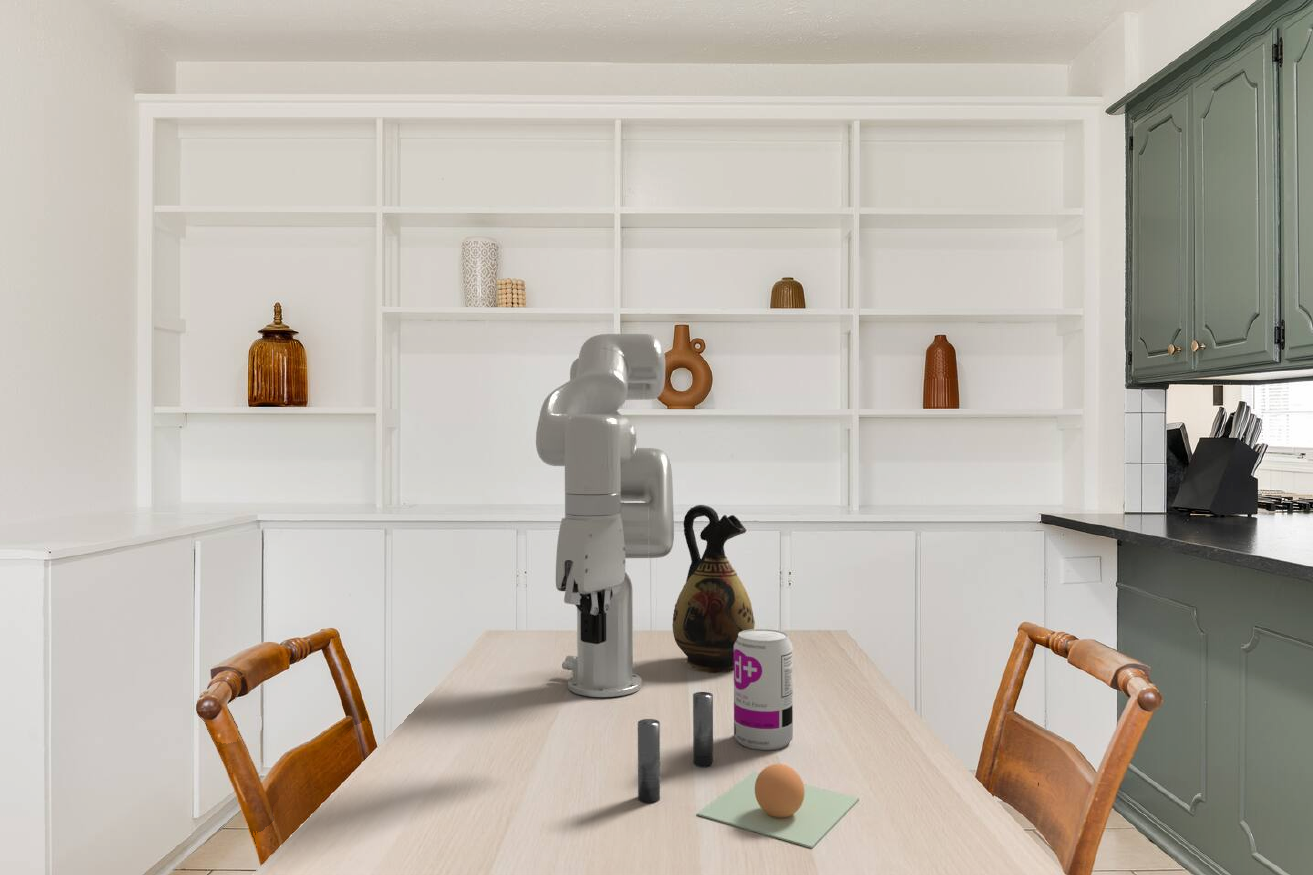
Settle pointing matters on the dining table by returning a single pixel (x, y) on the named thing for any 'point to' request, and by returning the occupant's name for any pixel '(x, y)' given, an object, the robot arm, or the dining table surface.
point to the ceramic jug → (711, 597)
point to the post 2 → (703, 729)
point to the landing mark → (798, 828)
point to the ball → (779, 790)
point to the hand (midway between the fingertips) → (593, 641)
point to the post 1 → (648, 760)
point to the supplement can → (763, 689)
